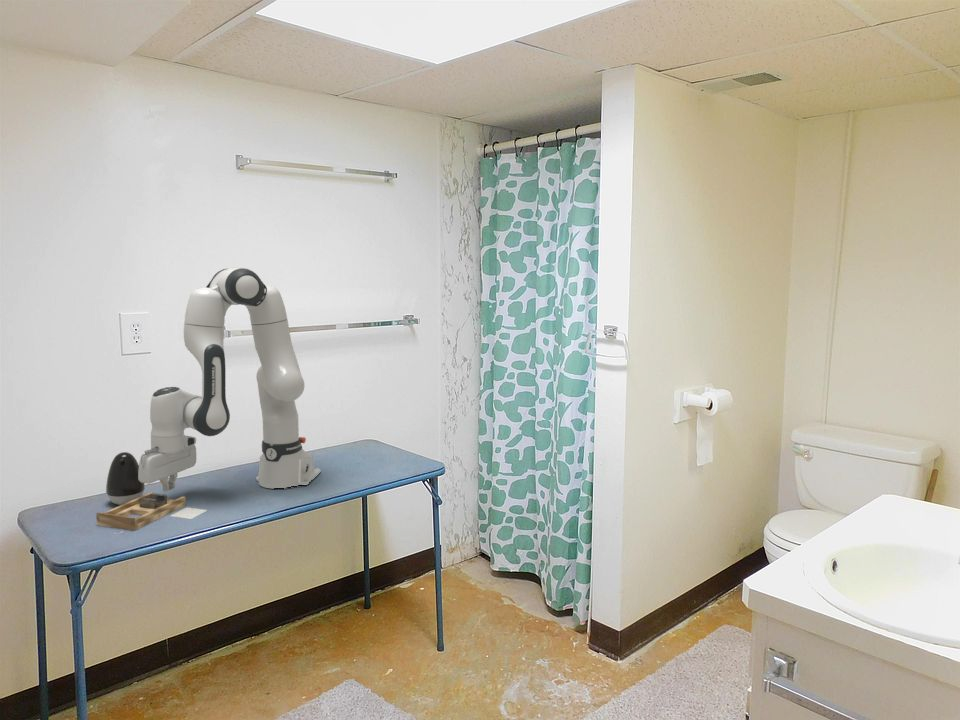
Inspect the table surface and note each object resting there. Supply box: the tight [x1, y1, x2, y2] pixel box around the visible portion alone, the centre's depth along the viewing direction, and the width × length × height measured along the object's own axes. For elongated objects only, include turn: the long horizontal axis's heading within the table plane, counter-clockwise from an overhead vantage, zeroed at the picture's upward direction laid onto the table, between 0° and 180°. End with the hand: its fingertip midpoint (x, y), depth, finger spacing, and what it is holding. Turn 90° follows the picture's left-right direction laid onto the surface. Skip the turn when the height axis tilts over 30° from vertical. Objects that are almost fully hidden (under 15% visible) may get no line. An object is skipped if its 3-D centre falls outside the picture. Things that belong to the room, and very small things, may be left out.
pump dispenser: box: [105, 451, 146, 506], centre depth 206 cm, size 10×10×15 cm
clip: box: [139, 492, 168, 509], centre depth 198 cm, size 5×5×2 cm
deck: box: [95, 491, 187, 531], centre depth 195 cm, size 20×12×4 cm, turn 164°
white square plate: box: [170, 507, 208, 520], centre depth 197 cm, size 7×7×1 cm
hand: (168, 489), depth 205 cm, fingers closed
